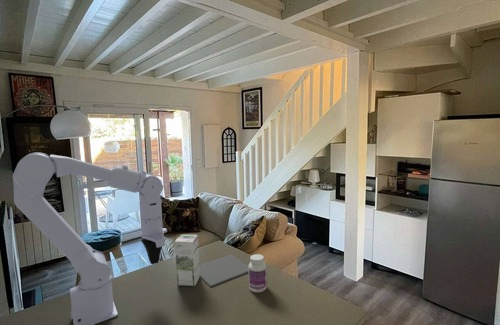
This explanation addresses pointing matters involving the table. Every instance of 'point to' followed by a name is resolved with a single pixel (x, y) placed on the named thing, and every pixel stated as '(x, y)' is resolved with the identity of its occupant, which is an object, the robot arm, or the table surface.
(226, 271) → the rubber mat
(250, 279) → the pill bottle
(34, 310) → the table surface
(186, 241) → the syrup box
